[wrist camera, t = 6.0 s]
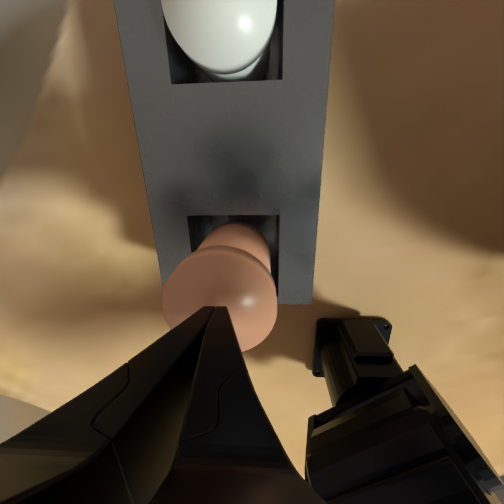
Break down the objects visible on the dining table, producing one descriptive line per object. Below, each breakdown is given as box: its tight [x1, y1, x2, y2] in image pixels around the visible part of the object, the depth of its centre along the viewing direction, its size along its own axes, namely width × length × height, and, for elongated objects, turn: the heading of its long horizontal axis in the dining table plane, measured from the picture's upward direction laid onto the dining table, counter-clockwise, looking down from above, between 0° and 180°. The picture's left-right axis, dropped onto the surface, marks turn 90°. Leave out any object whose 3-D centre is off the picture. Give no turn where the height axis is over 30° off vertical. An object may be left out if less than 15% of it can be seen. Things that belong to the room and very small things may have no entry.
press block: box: [114, 0, 335, 305], centre depth 15 cm, size 17×9×6 cm, turn 1°
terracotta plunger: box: [162, 222, 277, 352], centre depth 12 cm, size 4×4×6 cm
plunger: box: [161, 0, 277, 83], centre depth 12 cm, size 4×4×6 cm
